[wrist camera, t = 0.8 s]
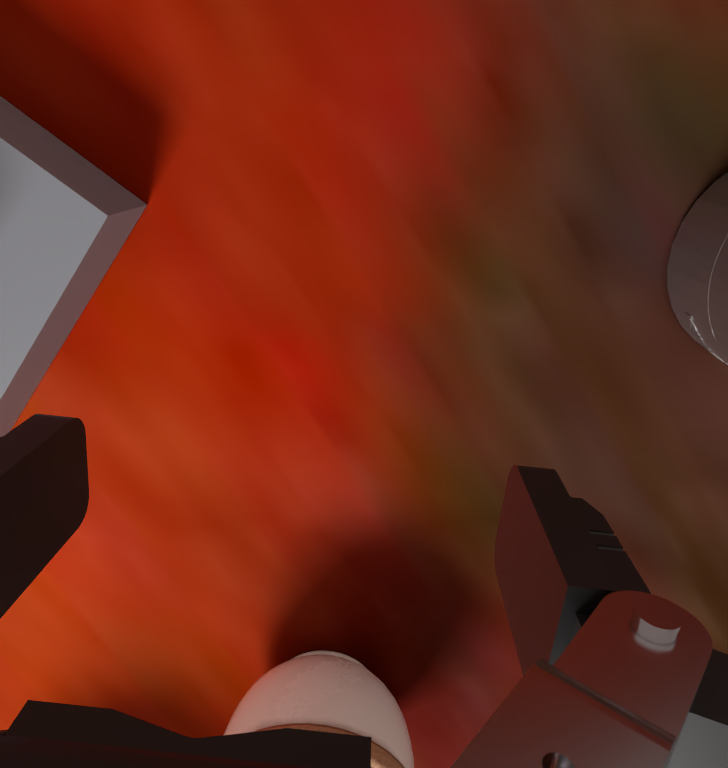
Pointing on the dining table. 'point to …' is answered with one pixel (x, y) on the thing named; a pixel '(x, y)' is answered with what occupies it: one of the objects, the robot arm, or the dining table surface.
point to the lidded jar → (327, 705)
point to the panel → (49, 249)
